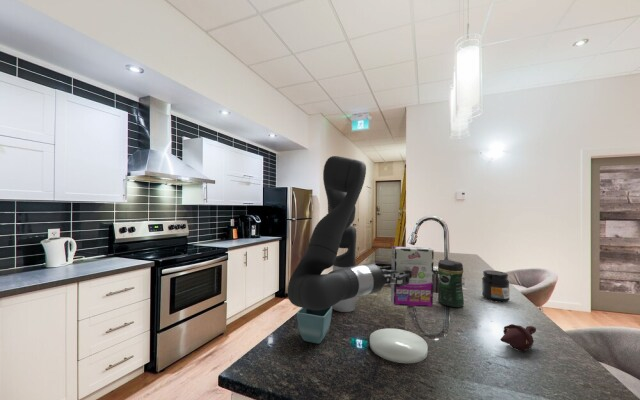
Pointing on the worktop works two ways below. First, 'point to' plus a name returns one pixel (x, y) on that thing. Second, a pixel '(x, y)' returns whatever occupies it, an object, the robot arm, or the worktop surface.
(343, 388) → the worktop surface
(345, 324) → the worktop surface
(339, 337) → the worktop surface
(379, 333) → the plate
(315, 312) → the flower pot
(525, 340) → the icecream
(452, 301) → the coffee jar
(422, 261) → the candy bar box
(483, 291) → the supplement container
